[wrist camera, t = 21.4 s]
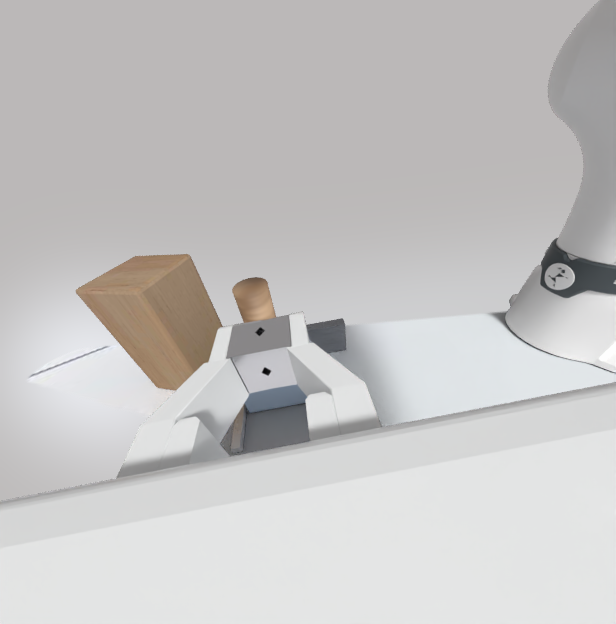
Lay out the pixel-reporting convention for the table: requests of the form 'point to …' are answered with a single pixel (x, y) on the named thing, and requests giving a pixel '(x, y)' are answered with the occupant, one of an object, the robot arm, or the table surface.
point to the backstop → (321, 334)
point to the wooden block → (157, 315)
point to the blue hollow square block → (275, 398)
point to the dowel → (254, 299)
